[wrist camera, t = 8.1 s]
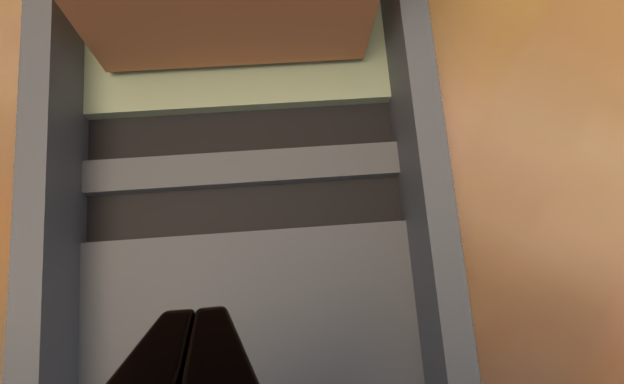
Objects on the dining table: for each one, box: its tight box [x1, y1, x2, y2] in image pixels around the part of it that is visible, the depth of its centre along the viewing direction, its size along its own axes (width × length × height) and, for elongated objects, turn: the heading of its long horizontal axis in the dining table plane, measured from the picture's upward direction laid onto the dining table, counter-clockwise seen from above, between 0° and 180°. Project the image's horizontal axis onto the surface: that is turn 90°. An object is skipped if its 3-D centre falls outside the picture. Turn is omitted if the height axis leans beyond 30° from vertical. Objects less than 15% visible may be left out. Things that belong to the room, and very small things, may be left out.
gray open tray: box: [3, 0, 481, 384], centre depth 16 cm, size 16×11×4 cm
